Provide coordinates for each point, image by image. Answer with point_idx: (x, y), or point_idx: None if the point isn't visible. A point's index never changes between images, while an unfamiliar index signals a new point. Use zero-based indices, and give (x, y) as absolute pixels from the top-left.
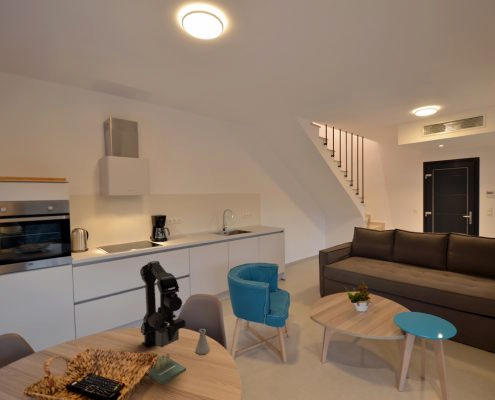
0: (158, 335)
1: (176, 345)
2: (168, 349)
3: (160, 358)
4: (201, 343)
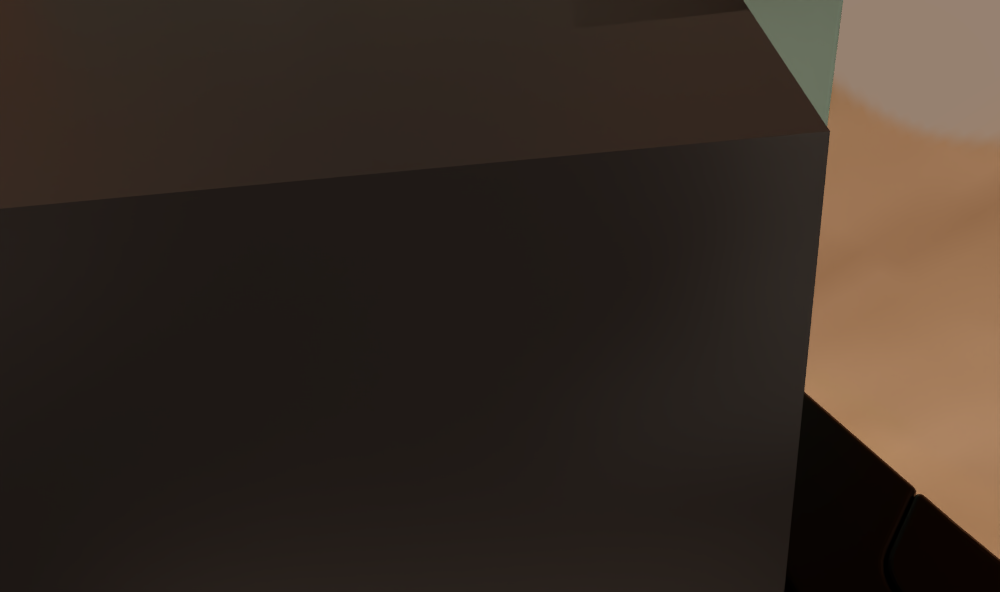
0: (203, 34)
1: (923, 455)
2: (957, 316)
3: (778, 23)
4: None
